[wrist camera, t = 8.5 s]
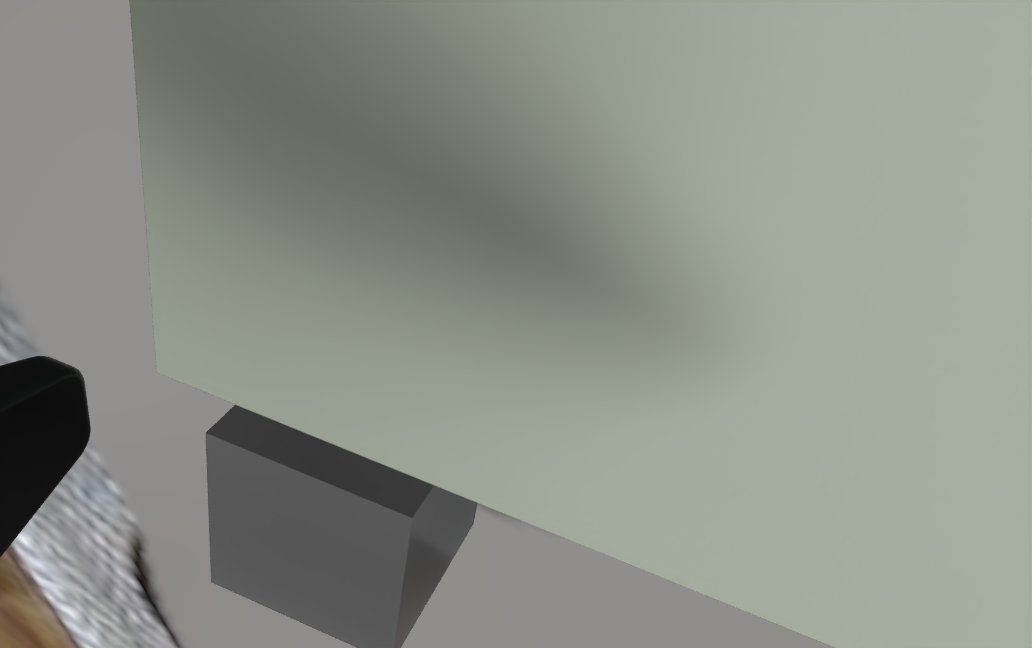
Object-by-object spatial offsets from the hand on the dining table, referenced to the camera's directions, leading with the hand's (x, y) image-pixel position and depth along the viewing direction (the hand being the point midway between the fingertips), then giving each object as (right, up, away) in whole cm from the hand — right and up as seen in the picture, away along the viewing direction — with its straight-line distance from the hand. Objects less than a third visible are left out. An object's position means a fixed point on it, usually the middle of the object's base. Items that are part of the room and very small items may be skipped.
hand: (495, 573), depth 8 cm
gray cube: (-3, 0, +17) cm, 17 cm away
